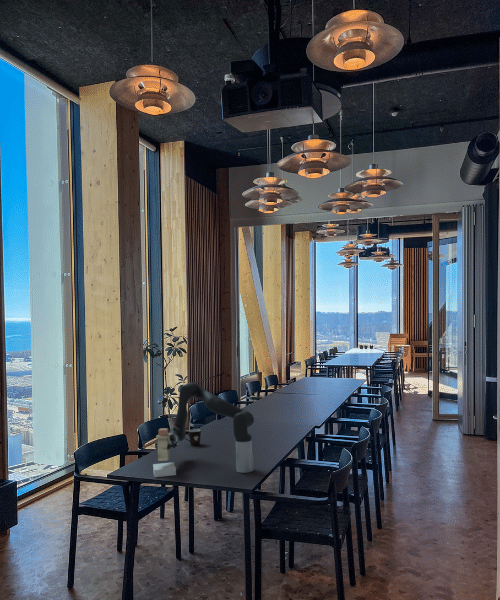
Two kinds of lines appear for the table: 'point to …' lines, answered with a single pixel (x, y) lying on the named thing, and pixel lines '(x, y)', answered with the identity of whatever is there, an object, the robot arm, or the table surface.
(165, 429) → the block
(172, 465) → the block
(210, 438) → the table surface
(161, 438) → the beige rectangular pillar
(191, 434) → the coffee mug
